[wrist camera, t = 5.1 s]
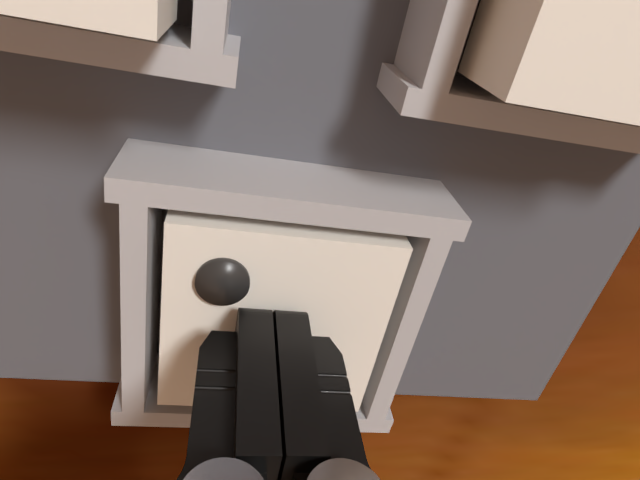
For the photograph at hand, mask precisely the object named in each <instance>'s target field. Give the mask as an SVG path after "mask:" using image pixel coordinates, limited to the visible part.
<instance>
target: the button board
mask: <svg viewBox="0 0 640 480" xmlns="http://www.w3.org/2000/svg"><path fill="white" fill-rule="evenodd" d="M480 1H481V0H178V1H177V20H176V21H175V22H174V23H173V24H172V25H171V26H170V28H169V29H168V30H167V31H166V32H165V33H164V34H163V35H162V36H161V37H160V38H159V39H158V41H152V40H146V39H141V38H135V37H129V36H123V35H118V34H112V33H106V32H101V31H95V30H89V29H83V28H78V27H72V26H66V25H61V24H55V23H49V22H43V21H38V20H32V19H26V18H21V17H15V16H9V15H3V14H0V378H24V379H47V380H71V381H95V382H118V383H119V386H118V389H117V393H116V396H115V399H114V403H113V406H112V409H111V426H144V427H182V428H190V423H191V414H192V406H181V405H157V396H158V370H159V344H160V318H161V291H162V265H163V239H164V222H165V218H166V215H167V212H168V209H169V210H178V211H187V212H197V213H206V214H215V215H224V216H233V217H242V218H251V219H260V220H269V221H278V222H287V223H296V224H305V225H314V226H323V227H332V228H341V229H350V230H360V231H369V232H378V233H387V234H396V235H405V236H406V237H407V239H408V240H409V242H410V244H411V246H412V248H413V251H412V254H411V257H410V260H409V263H408V266H407V269H406V272H405V275H404V277H403V280H402V283H401V286H400V289H399V292H398V295H397V298H396V301H395V304H394V307H393V310H392V313H391V316H390V319H389V322H388V325H387V328H386V331H385V334H384V337H383V340H382V343H381V346H380V349H379V352H378V355H377V358H376V361H375V364H374V367H373V370H372V373H371V376H370V379H369V382H368V385H367V387H366V390H365V393H364V396H363V399H362V402H361V405H360V408H359V411H358V412H356V411H355V412H356V416H357V420H358V425H359V429H360V432H377V433H389V431H390V429H391V426H392V424H393V421H394V420H393V416H392V413H391V410H390V405H391V403H392V400H393V397H394V395H395V394H402V395H426V396H449V397H473V398H497V399H520V400H537V399H538V398H539V396H540V394H541V393H542V391H543V389H544V388H545V386H546V384H547V382H548V381H549V379H550V377H551V376H552V374H553V372H554V371H555V369H556V367H557V366H558V364H559V362H560V360H561V359H562V357H563V355H564V354H565V352H566V350H567V349H568V347H569V345H570V344H571V342H572V340H573V338H574V337H575V335H576V333H577V332H578V330H579V328H580V327H581V325H582V323H583V322H584V320H585V318H586V316H587V315H588V313H589V311H590V310H591V308H592V306H593V305H594V303H595V301H596V300H597V298H598V296H599V294H600V293H601V291H602V289H603V288H604V286H605V284H606V283H607V281H608V279H609V278H610V276H611V274H612V272H613V271H614V269H615V267H616V266H617V264H618V262H619V261H620V259H621V257H622V256H623V254H624V252H625V250H626V249H627V247H628V245H629V244H630V242H631V240H632V239H633V237H634V235H635V234H636V232H637V230H638V228H639V227H640V126H638V125H632V124H626V123H621V122H615V121H609V120H603V119H598V118H592V117H586V116H581V115H575V114H569V113H563V112H558V111H552V110H546V109H541V108H535V107H529V106H523V105H518V104H512V103H506V102H504V101H502V100H501V99H499V98H498V97H496V96H495V95H493V94H492V93H490V92H489V91H487V90H485V89H484V88H482V87H481V86H479V85H478V84H476V83H475V82H473V81H471V80H470V79H468V78H467V77H465V76H464V75H462V74H461V73H459V72H458V69H459V66H460V63H461V60H462V57H463V54H464V51H465V48H466V44H467V41H468V38H469V35H470V32H471V29H472V26H473V23H474V20H475V16H476V13H477V10H478V7H479V4H480Z"/></svg>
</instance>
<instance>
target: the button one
mask: <svg viewBox="0 0 640 480" xmlns="http://www.w3.org/2000/svg"><path fill="white" fill-rule="evenodd" d="M177 1H178V0H0V14H3V15H9V16H15V17H21V18H26V19H32V20H38V21H43V22H49V23H55V24H61V25H66V26H72V27H78V28H83V29H89V30H95V31H101V32H106V33H112V34H118V35H123V36H129V37H135V38H141V39H146V40H152V41H158V39H159V38H160V37H161V36H162V35H163V34H164V33H165V32H166V31H167V30H168V29H169V28H170V26H171V25H172V24H173V23H174V22H175V21H176V20H177Z"/></svg>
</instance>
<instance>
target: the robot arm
mask: <svg viewBox="0 0 640 480" xmlns="http://www.w3.org/2000/svg"><path fill="white" fill-rule="evenodd" d="M350 392H351V390H350V385H349V381H348V378H347V372H346V368H345V363H344V359H343V355H342V353H341V352H340V351H339V349H338V348H337V347H336V345H335V344H334V343H333V341H332V340H331V339H330V337H320V336H312V334H311V328H310V322H309V316H308V313H307V312H298V311H283V310H274V311H273V312H272V310H266V309H252V308H238V312H237V320H236V327H235V332H231V331H214V330H212V331H211V332H210V333H209V335H208V336H207V338H206V339H205V340H204V342H203V343H202V344H201V346H200V347H199V354H198V363H197V372H196V380H195V389H194V397H193V406H192V414H191V423H190V431H189V440H188V448H187V456H186V461H185V465H184V467H183V470H182V472H181V474H180V475H179V477H178V478H177V480H380V479H379V477H378V476H377V475H376V474H375V473H374V472H373V471H372V470H371V469H370V467H369V465H368V462H367V459H366V455H365V451H364V446H363V442H362V438H361V433H360V429H359V425H358V420H357V416H356V412H355V407H354V403H353V398H352V395H351V394H350Z"/></svg>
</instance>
